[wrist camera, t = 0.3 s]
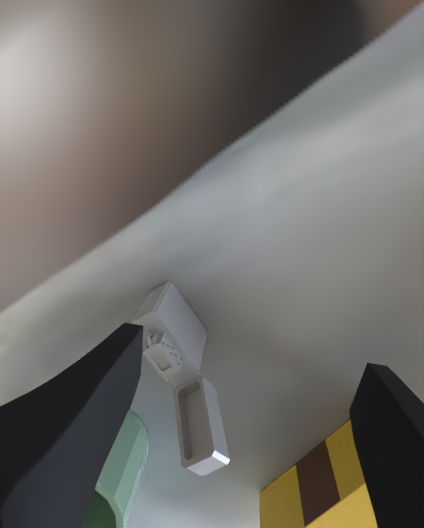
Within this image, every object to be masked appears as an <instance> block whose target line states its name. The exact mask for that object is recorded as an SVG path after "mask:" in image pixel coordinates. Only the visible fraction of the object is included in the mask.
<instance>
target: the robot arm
mask: <svg viewBox="0 0 424 528" xmlns="http://www.w3.org/2000/svg"><path fill="white" fill-rule="evenodd" d="M143 327H144V326H142V325H136V324H130V323H124V324H122V325H121V326H120V327H119V328H118V329H116V330H115V331H114V332H113V333H112V334H111V335H109V336H108V337H107V338H106V339H105V340H104V341H102V342H101V343H100V344H99V345H97V346H96V347H95V348H94V349H92V350H91V351H90V352H89V353H87V354H86V355H85V356H84V357H82V358H81V359H80V360H78V361H77V362H75V363H74V364H73V365H71V366H70V367H68V368H67V369H65V370H64V371H63V372H61V373H60V374H58V375H57V376H55V377H54V378H52V379H51V380H49V381H47V382H46V383H44V384H42V385H41V386H39V387H37V388H36V389H34V390H32V391H30V392H28V393H27V394H25V395H22V396H20V397H18V398H16V399H14V400H12V401H10V402H8V403H6V404H4V405H2V406H0V528H82V526H83V523H84V519H85V516H86V513H87V510H88V507H89V505H90V502H91V499H92V496H93V493H94V490H95V487H96V484H97V481H98V479H99V476H100V474H101V471H102V469H103V466H104V464H105V462H106V459H107V457H108V455H109V453H110V451H111V448H112V446H113V444H114V442H115V439H116V437H117V435H118V433H119V431H120V428H121V426H122V424H123V422H124V420H125V417H126V415H127V413H128V411H129V408H130V406H131V404H132V401H133V398H134V395H135V391H136V388H137V385H138V382H139V378H140V375H141V359H142V343H143ZM349 411H350V419H351V427H352V433H353V439H354V444H355V448H356V451H357V455H358V459H359V462H360V466H361V469H362V473H363V476H364V480H365V483H366V487H367V490H368V494H369V497H370V501H371V504H372V508H373V511H374V515H375V519H376V523H377V527H378V528H424V403H423V402H422V401H421V400H420V399H419V398H418V397H417V396H416V395H415V394H414V393H413V392H412V391H411V390H410V389H409V388H408V387H407V386H406V385H405V384H404V383H403V382H402V380H401V379H400V378H399V377H398V376H397V375H396V374H395V373H394V372H393V371H392V370H391V369H390V368H388V367H387V366H384V365H378V364H372V363H367V365H366V368H365V370H364V373H363V376H362V378H361V381H360V384H359V386H358V389H357V392H356V394H355V397H354V400H353V402H352V405H351V408H350V410H349Z"/></svg>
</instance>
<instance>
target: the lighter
mask: <svg viewBox="0 0 424 528" xmlns="http://www.w3.org/2000/svg"><path fill="white" fill-rule="evenodd" d="M130 324H136V325H142V326H144V327H143V343H142V347H143V349H144V351H143V353H142V354H143V355H144V356H145V358H146V359H147V360H148V362H149V363H150V364H151V365H152V367H153V368H154V369H155V371H156V372H157V373H158V375H159V376H160V377H161V378H162V379H167V380H168V381H169V383H170V384H171V385H172V386H175V387H176V388H175V390H174V395H175V405H176V415H177V424H178V434H179V444H180V453H181V463H182V466H183V467H184V468H186V469H188V470H190V471H192V472H194V473H196V474H198V475H200V476H204V475H207V474H209V473H211V472H213V471H215V470H218V469H220V468H222V467H224V466H226V465H228V463H229V461H230V457H229V452H228V447H227V442H226V437H225V432H224V427H223V421H222V416H221V411H220V406H219V401H218V396H217V391H216V387H215V386H214V385H212V384H211V383H210V382H209V381H207V380H206V379H205V378H203V377H202V376H200V375H199V372H200V368H201V363H202V358H203V353H204V348H205V343H206V338H207V333H208V331H207V330H206V328H205V327H204V326H203V324H202V323H201V321H200V320H199V319H198V317H197V316H196V314H195V313H194V312H193V310H192V309H191V307H190V306H189V305H188V303H187V302H186V300H185V299H184V298H183V296H182V295H181V293H180V292H179V291H178V289H177V288H176V286H175V285H174V284H173V282H171V281H167V282H166V283H164V284H162V285H161V286H159V287H158V288H156V289H154V290H153V291H151V292H149V294H148V296H147V297H146V299H145V300H144V302H143V304H142V305H141V307H140V308H139V310H138V311H137V313H136V315H135V316H134V318H133V319H132V321H131V323H130Z"/></svg>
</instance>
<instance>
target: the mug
mask: <svg viewBox="0 0 424 528" xmlns="http://www.w3.org/2000/svg"><path fill="white" fill-rule="evenodd" d="M149 445H150V443H149V436H148V432H147V430H146V428H145V426H144V424H143V423H142V421H141V420H140V419H139V418H138V416H137V415H136V414H134V413H133V412H132V411H131V410H129V411H128V413H127V415H126V417H125V420H124V422H123V424H122V426H121V428H120V431H119V433H118V435H117V437H116V439H115V442H114V444H113V446H112V448H111V451H110V453H109V455H108V457H107V459H106V462H105V464H104V466H103V469H102V471H101V474H100V476H99V479H98V481H97V484H96V487H95V490H94V493H93V496H92V499H91V502H90V505H89V507H88V510H87V513H86V516H85V519H84V523H83V526H82V528H126V525H127V522H128V519H129V515H130V512H131V509H132V506H133V503H134V500H135V496H136V493H137V490H138V487H139V484H140V480H141V477H142V474H143V471H144V468H145V464H146V461H147V458H148V452H149Z"/></svg>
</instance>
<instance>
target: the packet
mask: <svg viewBox="0 0 424 528" xmlns="http://www.w3.org/2000/svg"><path fill="white" fill-rule="evenodd" d="M259 502H260V528H378V527H377V523H376V519H375V515H374V511H373V508H372V504H371V501H370V497H369V494H368V490H367V487H366V483H365V480H364V476H363V473H362V469H361V466H360V462H359V459H358V455H357V451H356V448H355V444H354V439H353V433H352V427H351V419H350V420H349V421H348V422H346V423H345V424H344V425H343V426H342V427H340V428H339V429H338V430H337V431H335V432H334V433H333V434H332V435H330V436H329V437H328V438H327V439H326V440H324V441H323V442H322V443H321V444H319V445H318V446H317V447H316V448H314V449H313V450H312V451H311V452H310V453H308V454H307V455H306V456H305V457H303V458H302V459H301V460H300V461H298V462H297V463H296V464H295V465H294V466H292V467H291V468H290V469H289V470H287V471H286V472H285V473H284V474H282V475H281V476H280V477H279V478H278V479H276V480H275V481H274V482H273V483H271V484H270V485H269V486H268V487H266V488H265V489H264V490H263V491H262V492H260V493H259Z"/></svg>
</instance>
